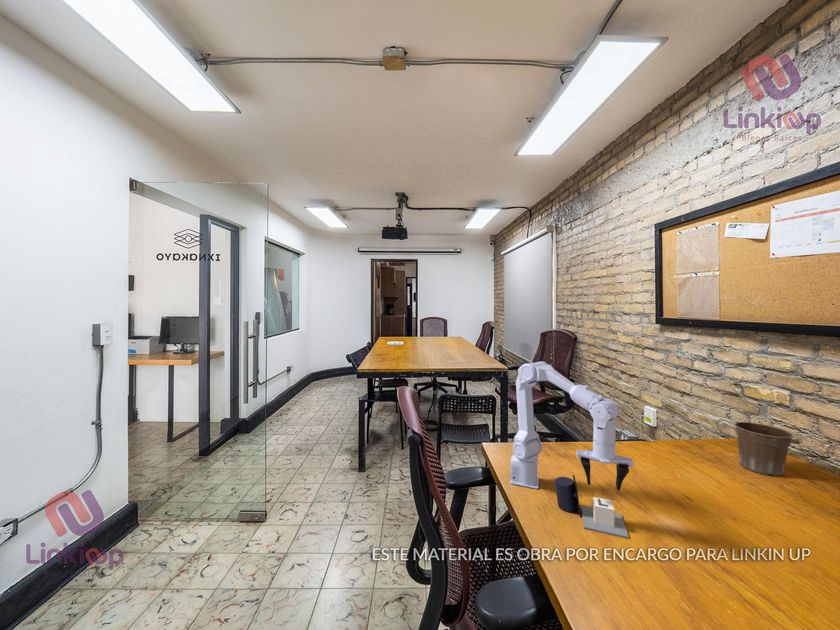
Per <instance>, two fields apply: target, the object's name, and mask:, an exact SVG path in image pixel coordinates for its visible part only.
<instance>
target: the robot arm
mask: <svg viewBox="0 0 840 630" xmlns="http://www.w3.org/2000/svg"><path fill="white" fill-rule="evenodd" d="M517 373H518V374H517V377H516V380H515V387H516V388H515V390H516V391H515V392H516V404H517V405H516V407H517V408H516V409H517V420H518V431H517V432H516V434H515V435H514V437H513V441H514V442H513V445H512V452H513V454H511V458H510V471H509V472H510V473H509V474H510V482H509V483H510V484H511V485H516V486H521V487H524V488H531V489H535V490H539V483H540V478H539V477H538V472H539V471H538V470H539V469H538V468H539V466H538V465H539V464H538V463H539V461H538V460H539V459H538V458H539V455H540V453H541V452H542V451H543V445H542V442H541V440H540V435H539V433H538V432H536V430H535V417H534V415H535V414H534V402H533V401H534V399H533V387H534V386H535V385H536V384H537V383H539V382H549V383H551V384H553V385H555V386H556V387H558V388H560V389H561V390H563V391H565V392H566V393H568V394H569V396H570V399H571V400H572V401H573V402H575V403H576V404H578V405H579V406H581V407H582V408H583V409H585V410H587V411H588V412H589V414H590V416H591V418H592V419H593V420H592V421H593V433H592V434H593V436H592V450H581V449H580V450H579V449H576V459H577V460H580V463H581V466H582V468H583V471H584V473H585V476H586V481H587V485H588V486H591V467H592V466H591V461H595V462H601V463H602V464H607V465H609V464H612V465H616V479H615V487H616V490H617V491H619V492H620V491H621V487H622V484H623V481H624V480H625V479H626V477H627V475H629V473H630V468H631V469H633V466H634V461H633V459H632V458H629V457H626V456H623V455H622V456H621V455H619V454H618V455H617V454H616V430H617V429H616V428H617V427H616V425H617V424H616V423H617V421H616V420H617V419H616V418H617V417H618V416H619V414H620V407H619V405H618V403H617V402H615V401H614V400H613V398H604V396H603V395H601V394H597V393H596V392H594V391H593V390H591V389H590V386H588V385H586V384H585V385H583V384H575V383H574V382H572V381H570V379H568V378H567V377H565V376H564V375H562V374H561V373H560V372H558V371H557V370H556V369H554V368H553V366H552V365H550V364H548V363H547V362H545V361H536V362H530V363H528V362H527V363H523V364H522V365H521V366H519V367H518V369H517Z"/></svg>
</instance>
